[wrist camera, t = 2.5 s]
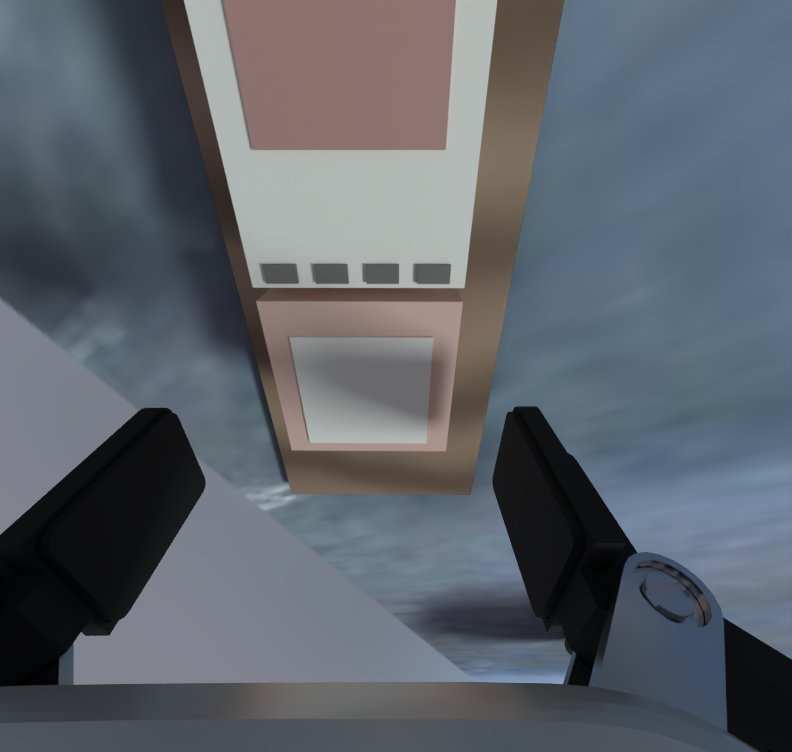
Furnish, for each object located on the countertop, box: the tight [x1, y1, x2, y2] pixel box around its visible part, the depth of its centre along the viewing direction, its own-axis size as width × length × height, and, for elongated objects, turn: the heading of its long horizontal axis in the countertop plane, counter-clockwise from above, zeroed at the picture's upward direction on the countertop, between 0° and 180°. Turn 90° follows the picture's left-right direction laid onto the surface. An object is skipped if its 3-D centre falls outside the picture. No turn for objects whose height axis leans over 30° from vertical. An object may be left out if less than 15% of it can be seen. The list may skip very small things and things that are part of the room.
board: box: [160, 0, 564, 495], centre depth 13 cm, size 32×12×1 cm, turn 0°
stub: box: [256, 288, 463, 451], centre depth 13 cm, size 6×6×5 cm
